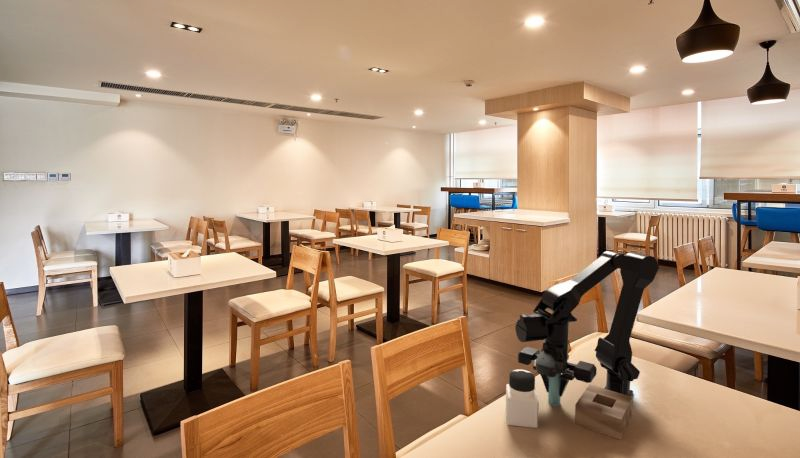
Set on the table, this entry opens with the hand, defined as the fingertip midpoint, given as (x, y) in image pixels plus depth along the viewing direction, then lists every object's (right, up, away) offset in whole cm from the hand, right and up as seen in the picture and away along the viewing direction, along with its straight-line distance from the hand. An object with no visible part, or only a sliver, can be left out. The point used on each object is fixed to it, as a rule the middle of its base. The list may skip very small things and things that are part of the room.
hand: (554, 393), depth 107 cm
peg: (0, -3, 0) cm, 2 cm away
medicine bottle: (-11, -4, -6) cm, 13 cm away
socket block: (+9, -3, -7) cm, 12 cm away
